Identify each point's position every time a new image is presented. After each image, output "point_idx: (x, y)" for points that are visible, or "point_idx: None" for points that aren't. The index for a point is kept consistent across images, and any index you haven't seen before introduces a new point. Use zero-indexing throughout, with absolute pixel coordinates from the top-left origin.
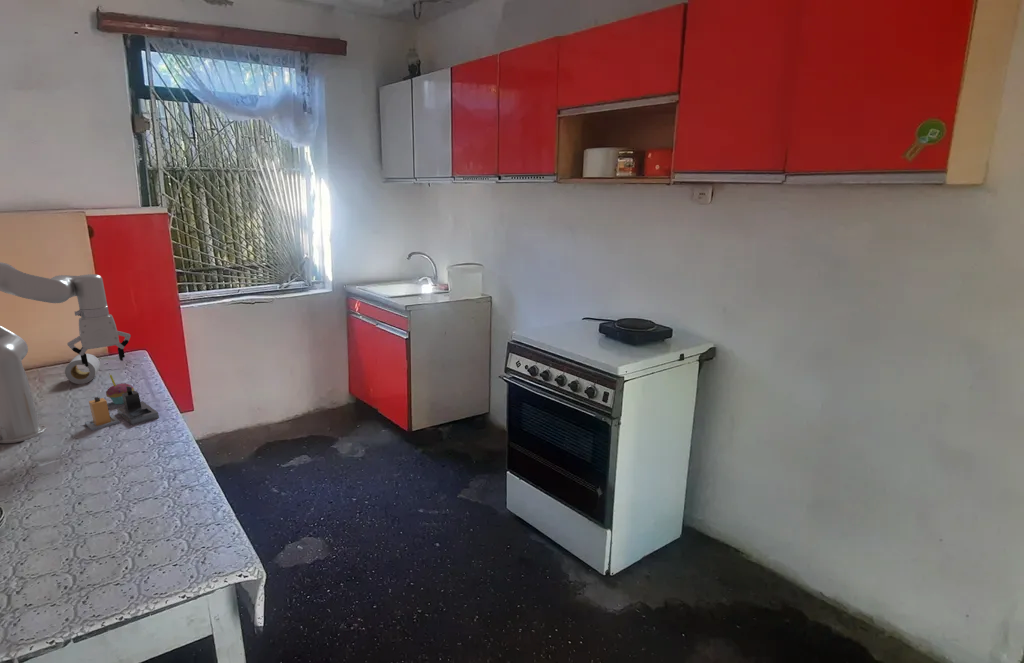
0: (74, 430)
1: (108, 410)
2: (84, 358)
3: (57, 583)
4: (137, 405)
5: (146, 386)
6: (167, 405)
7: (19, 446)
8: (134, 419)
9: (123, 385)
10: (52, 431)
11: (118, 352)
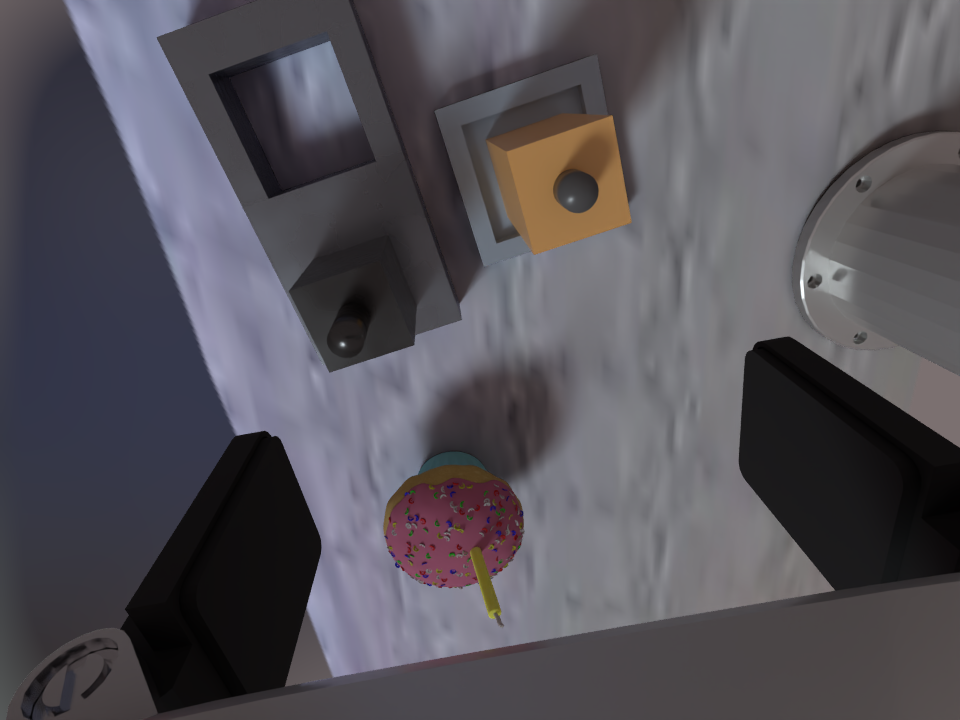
0: (675, 161)
1: (496, 146)
2: (901, 413)
3: None
4: (329, 256)
5: (364, 639)
6: (192, 312)
7: (945, 55)
8: None
9: (429, 544)
10: (771, 220)
11: (277, 619)
